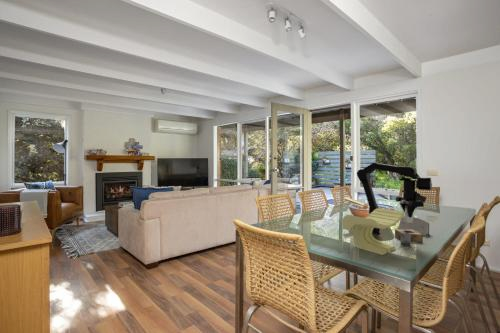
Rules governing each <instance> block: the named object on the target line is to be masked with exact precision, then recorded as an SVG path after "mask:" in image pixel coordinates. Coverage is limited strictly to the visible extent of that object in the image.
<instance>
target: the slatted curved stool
mask: <svg viewBox="0 0 500 333" xmlns="http://www.w3.org/2000/svg"><path fill="white" fill-rule="evenodd" d="M403 217H405V213H404V211H403V210H395V209H388V208H383V207H382V208H380V207H379V208H377V209H375V210H374V211H373V212H371V213H370V214H369V213H368V215H367V216H365V217H361V216H356V215H351V214H346V215H344V216H343V218H342V230H346V231H352V235H353V237H352V238H353V244H354V246H355V247H357V249H361V250H365V251H367V252H371V253H374V254H379V255H382V256H383V255H386V254H388V253H391V252H393V251H395V250H396V246H395V245H394V244H389V243H386V242H383V241H380V240H378V239H377V238H375V237H374V235H373V234H372V231H373V229H374V228H380V229H381V230H384V229H387V228H388V229H389V228H391V227H394V226H397V224H399V223H400V221H401V220H402V218H403Z"/></svg>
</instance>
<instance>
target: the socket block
mask: <svg viewBox="0 0 500 333" xmlns="http://www.w3.org/2000/svg"><path fill="white" fill-rule="evenodd" d="M402 232H405V233H410V234H411V243H412V242H415V243H416V242H417V243H418V242H419V243H421V242H423V241H424V240H423V239H424V235H423V234H421V233H419V232H417V231H415V230H409V229H398V228H395V229H394V237H395V238H397V239H399V240H401V233H402Z"/></svg>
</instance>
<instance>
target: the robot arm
mask: <svg viewBox="0 0 500 333" xmlns="http://www.w3.org/2000/svg"><path fill="white" fill-rule="evenodd" d="M376 170H379V171H384V172H390V173H395V174H398V175H401V176H402V177H401V178H400V179H399V181H402V182H403V185H402V186H403V189H402V190H401V192H402V196H396V197H395V202H399V205H400V207H401V209H402V211H403V212H404V214H405V206H406V209H407V212H408V216H409V217H412V214H413V215H414V212H415V210H416V209H417V208H424V207H425V202H426V200H427V197H426V196H424V195H421V193H419V192H418V191H416V188H417V189H418V190H419V191H432V188H433V183H432V177H421V176H420V175H419V174H418V172H417V169H416V168H415V167H414V166H397V165H391V164H386V163H379V162H372V163H371V164H369V165H367V166H365V167H363V168H361V169H358V170H357V172H356V175H357V178H358V180H359V181H360V183H361V184H362V188H363V191H364V194H365V198H366V200H367V204H368V215H369V214H370V213H371V212H373V211H374V210H375V209H377V208H383V207H382V206H380V207H379V206H378V204H377V200H376V197H375V194H374V191H373V188H372V183H371V174H372V173H374V172H375V171H376ZM380 233H381V232H380V228H374V229H373V231H372V235H373V234H376V235H377V234H378V235H380Z"/></svg>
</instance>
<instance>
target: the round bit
mask: <svg viewBox="0 0 500 333" xmlns="http://www.w3.org/2000/svg"><path fill="white" fill-rule="evenodd" d="M399 243H400V246H402V247H411V243H412V242H411V234H410V233H405V232H402V233H401V239H400V242H399Z"/></svg>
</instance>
